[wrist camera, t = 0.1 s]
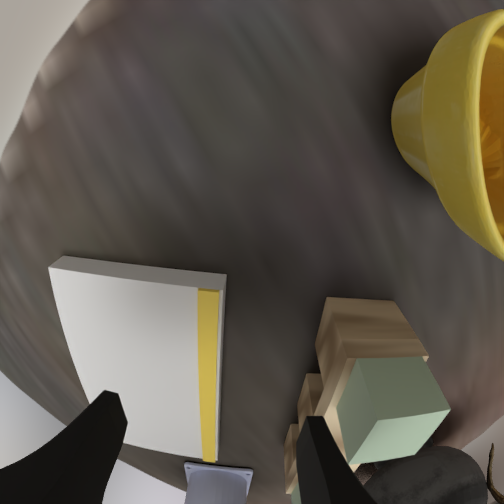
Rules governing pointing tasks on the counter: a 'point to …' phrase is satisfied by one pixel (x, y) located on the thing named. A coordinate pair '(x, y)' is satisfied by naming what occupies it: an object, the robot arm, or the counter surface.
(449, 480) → the pitcher
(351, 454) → the block
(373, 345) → the tan wooden bar
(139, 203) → the counter surface
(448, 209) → the plant pot
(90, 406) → the robot arm
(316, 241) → the counter surface
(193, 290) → the dock
